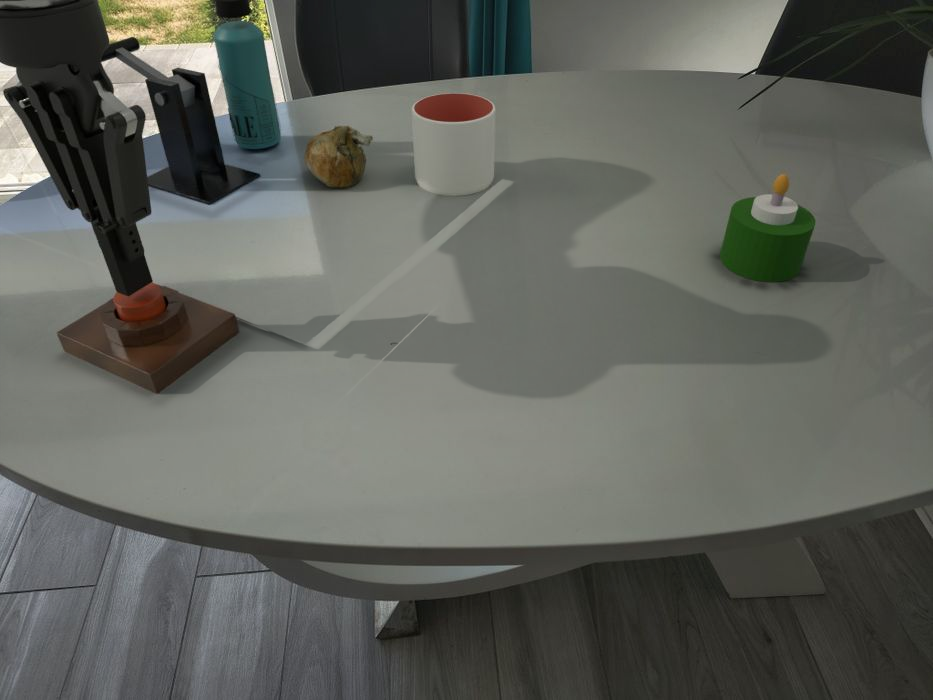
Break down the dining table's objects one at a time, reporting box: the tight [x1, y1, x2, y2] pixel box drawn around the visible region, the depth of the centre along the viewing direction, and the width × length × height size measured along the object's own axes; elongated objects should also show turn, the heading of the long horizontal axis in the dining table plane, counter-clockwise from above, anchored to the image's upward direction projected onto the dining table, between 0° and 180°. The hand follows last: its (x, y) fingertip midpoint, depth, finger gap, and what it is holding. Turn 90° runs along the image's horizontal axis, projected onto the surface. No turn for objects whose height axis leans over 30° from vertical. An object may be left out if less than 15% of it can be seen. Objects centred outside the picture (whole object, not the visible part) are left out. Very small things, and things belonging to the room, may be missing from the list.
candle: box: [719, 173, 816, 283], centre depth 76 cm, size 8×8×10 cm
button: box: [112, 282, 166, 322], centre depth 65 cm, size 4×4×2 cm
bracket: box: [144, 67, 262, 206], centre depth 89 cm, size 12×9×14 cm
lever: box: [101, 36, 195, 107], centre depth 87 cm, size 12×6×2 cm, turn 61°
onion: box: [304, 125, 374, 189], centre depth 91 cm, size 8×8×8 cm
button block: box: [56, 282, 240, 395], centre depth 67 cm, size 12×10×4 cm
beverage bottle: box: [212, 0, 283, 150], centre depth 96 cm, size 6×7×20 cm
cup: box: [411, 92, 496, 197], centre depth 90 cm, size 10×10×10 cm
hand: (134, 286), depth 64 cm, fingers closed
